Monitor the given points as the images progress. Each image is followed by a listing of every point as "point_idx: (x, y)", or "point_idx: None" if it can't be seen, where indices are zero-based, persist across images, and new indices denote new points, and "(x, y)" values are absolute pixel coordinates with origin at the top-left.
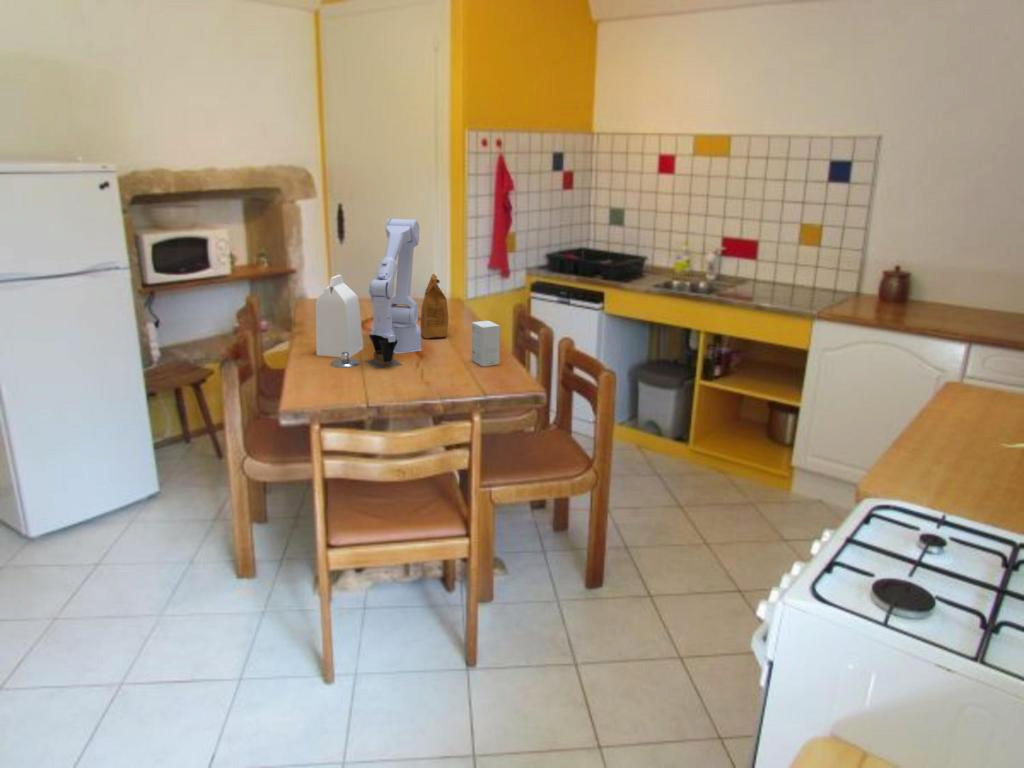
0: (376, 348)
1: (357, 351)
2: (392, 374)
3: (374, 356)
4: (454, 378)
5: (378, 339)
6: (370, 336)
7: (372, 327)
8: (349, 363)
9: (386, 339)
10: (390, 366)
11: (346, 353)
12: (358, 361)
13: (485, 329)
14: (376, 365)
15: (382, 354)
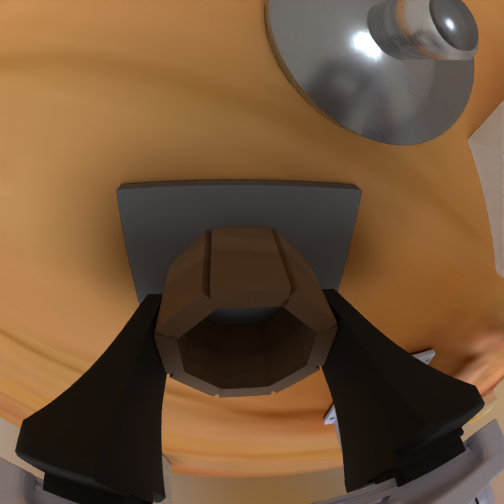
0: (349, 341)
1: (499, 235)
2: (27, 251)
3: (269, 264)
4: (9, 381)
5: (373, 431)
6: (451, 421)
7: (491, 480)
8: (354, 34)
9: (69, 497)
10: (138, 295)
11: (433, 11)
12: (367, 126)
13: None
14: (203, 221)
15: (182, 332)
